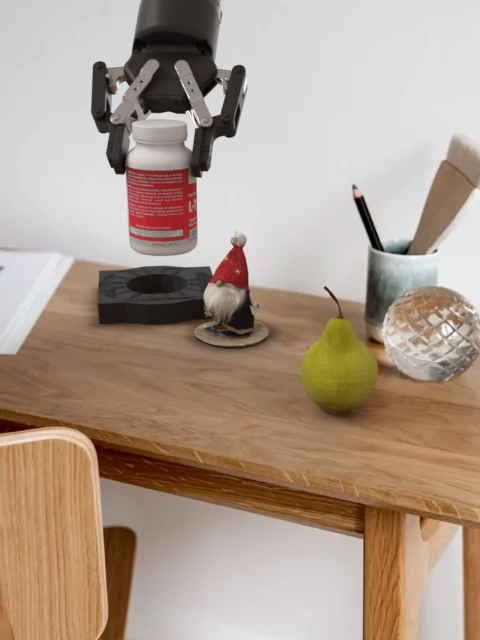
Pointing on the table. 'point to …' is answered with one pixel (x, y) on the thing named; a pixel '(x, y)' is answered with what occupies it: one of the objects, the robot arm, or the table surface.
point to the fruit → (338, 367)
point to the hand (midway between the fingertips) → (157, 170)
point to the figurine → (231, 302)
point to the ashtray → (142, 308)
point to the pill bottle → (161, 189)
